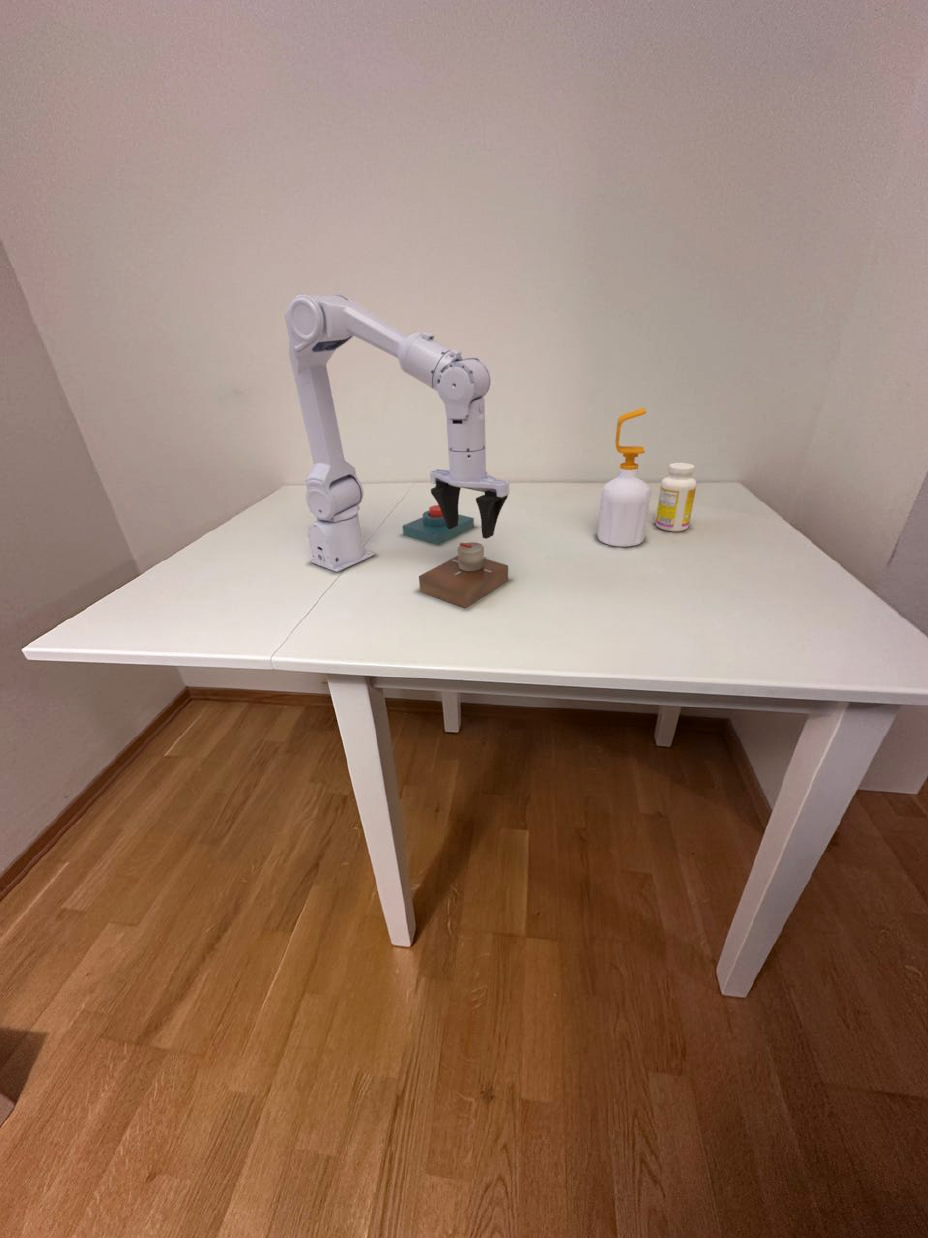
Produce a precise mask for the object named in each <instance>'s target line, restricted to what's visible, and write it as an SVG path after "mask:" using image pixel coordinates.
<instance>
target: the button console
mask: <svg viewBox="0 0 928 1238" xmlns="http://www.w3.org/2000/svg"><path fill="white" fill-rule="evenodd" d="M474 528H475V518H474V517H471V516H467V515H463V514H460V513H458V526H456V527H454V528H452V529H447V526H446V523H445V520H444V517H431V516H430V513H429V509H428V510H426V511H424V512H423V513H422V516H421V517H419V518H417V519H415V520H413V521H410V522H408V523H406V524H403V525H402V532H403V536H405V537H409V538H412V539H415V540H419V541H423V542H426V543H429V544H431V545H432V544H433V545H436V546H439V545H441V544H443V543H445V542H448V541H450V540H452V539H453V538H456V537H457V536H460V535H461V534H463V533H466V532H468V531H470V530H472V529H474Z"/></svg>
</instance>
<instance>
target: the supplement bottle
mask: <svg viewBox="0 0 928 1238" xmlns="http://www.w3.org/2000/svg"><path fill="white" fill-rule="evenodd" d="M667 471H668V475H667V476H665V477H663V479H662V480H661V484H660V488H659V489H660V490H659V498H658V503H657V509H656V517H655V526H656V527H657V528H658V529H660V530H661V531H666V532H683V531H685V530H687V529H688V528H689V527H690V523H691V518H692V516H691V515H692V511H693V507H694V501H695V500H694V499H695V495H696V489H697V484H698V483H697V480H696V479H695V478H694V477H692V476H693V473H694V472H695V465H694V464H692V463H688V462H674V463H673V462H672V463H669V465H668V470H667Z"/></svg>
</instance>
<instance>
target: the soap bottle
mask: <svg viewBox="0 0 928 1238" xmlns="http://www.w3.org/2000/svg"><path fill="white" fill-rule="evenodd" d="M646 414H647V410H646V408H645V407H643V408H639V409H636V410H633V411H629V412H626V413H623V414H621V415H620V416H619V418H618V419H617V424H616V432H615V441H614V442H615V448H616V451H617V452H618V453H619V454H622V457H623V458H624V462H622V463H620V465H619V471H618V472H619V473H618V475H617V476H616V477H614V478H613V479H610V480H609V481H608V482H607V483H605V484H604V486H603V488H602V490H601V493H600V503H599V513H598V523H597V534H596V537H597V539H598V540H599V541H600V542H601V543H603V544H604V545H608V546H611V547H619V548H628V547H634V546H638V545H640V544H641V543H642V542H644V539H645V534H646V527H647V521H648V520H647V519H648V514H649V508H650V507H649V506H650V499H651V494H652V491H651V488H650V486H649V485H648V484H647V483H646V482H645V481H644V480H642V479H640V477H638V472H639V463H635V461H636V460H635V459H636V458H638V457H639V454H640V455H642V454H645V452H646V451H645V450H646V449H645V447H644V446H634V445H632V446H631V445H630V446H628V445H627V446H626V445H625V446H624V445H623V446H622V445H620V437H621V429H622V425H623V423H624V422H626V421H628V420H631V419H634V418H637V417H640V416H644V415H646Z"/></svg>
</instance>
